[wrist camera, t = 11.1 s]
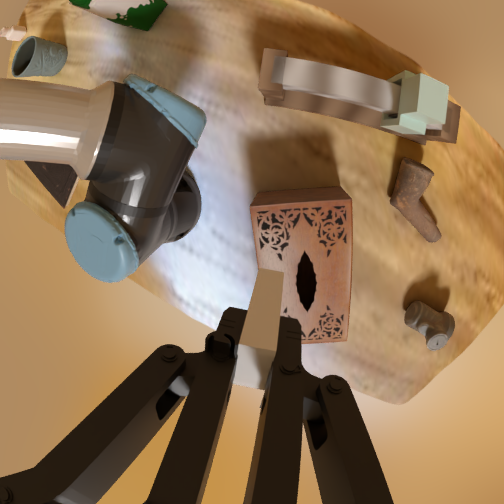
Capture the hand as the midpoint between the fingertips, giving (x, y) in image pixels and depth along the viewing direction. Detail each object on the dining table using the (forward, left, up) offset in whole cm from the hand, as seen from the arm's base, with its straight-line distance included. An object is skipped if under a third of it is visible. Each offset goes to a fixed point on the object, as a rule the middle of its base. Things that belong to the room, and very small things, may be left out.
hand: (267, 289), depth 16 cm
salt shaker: (-82, +44, -33) cm, 99 cm away
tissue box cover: (+6, -12, -33) cm, 36 cm away
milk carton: (-32, +34, -33) cm, 57 cm away
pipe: (+25, +4, -33) cm, 41 cm away
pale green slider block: (+15, +18, -27) cm, 36 cm away
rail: (+9, +18, -32) cm, 38 cm away
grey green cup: (-58, +28, -33) cm, 72 cm away
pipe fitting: (+37, -20, -33) cm, 53 cm away
